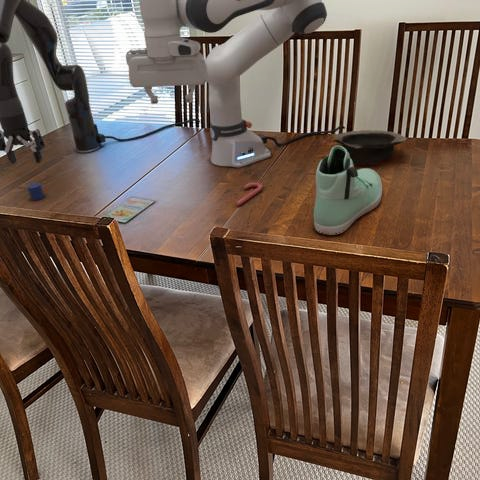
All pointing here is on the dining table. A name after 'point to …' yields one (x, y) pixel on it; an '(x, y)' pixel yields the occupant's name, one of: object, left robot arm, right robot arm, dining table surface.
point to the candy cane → (250, 192)
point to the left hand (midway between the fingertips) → (26, 162)
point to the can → (35, 191)
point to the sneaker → (343, 192)
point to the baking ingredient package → (129, 209)
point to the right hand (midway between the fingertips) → (172, 102)
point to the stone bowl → (369, 145)
